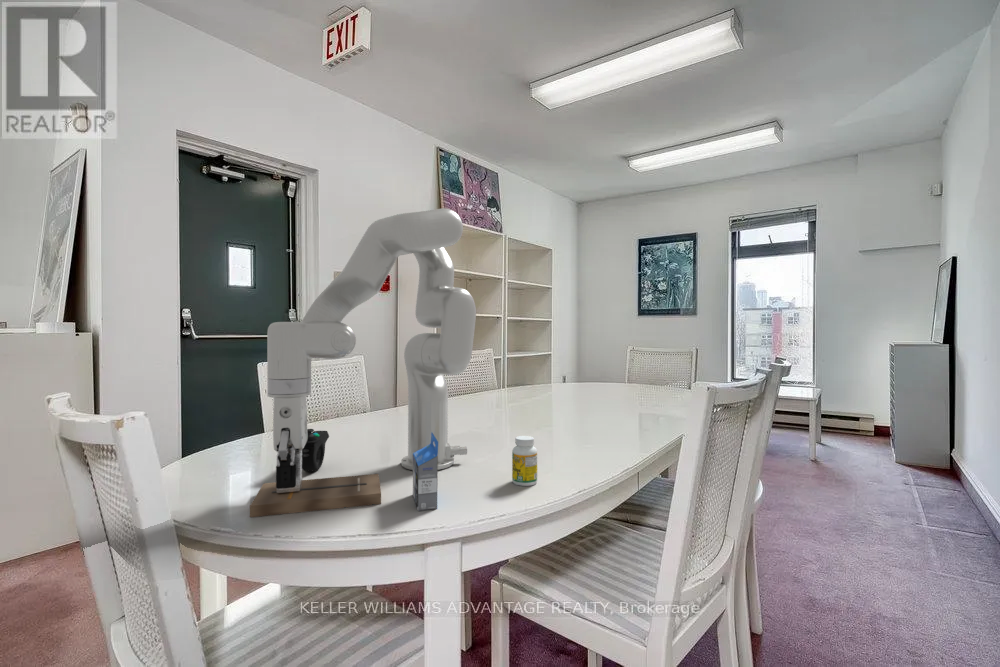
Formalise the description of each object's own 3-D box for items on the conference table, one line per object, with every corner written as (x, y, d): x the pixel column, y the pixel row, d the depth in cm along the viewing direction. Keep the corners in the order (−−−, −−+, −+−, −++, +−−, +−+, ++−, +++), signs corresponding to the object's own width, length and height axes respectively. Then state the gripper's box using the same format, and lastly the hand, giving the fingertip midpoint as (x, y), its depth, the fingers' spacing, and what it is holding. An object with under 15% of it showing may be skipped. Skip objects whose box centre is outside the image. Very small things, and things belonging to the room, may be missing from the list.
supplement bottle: (541, 484, 97) (542, 439, 97) (519, 488, 95) (519, 441, 95) (529, 477, 102) (529, 433, 102) (507, 480, 100) (508, 436, 100)
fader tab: (302, 485, 89) (302, 449, 89) (300, 491, 86) (300, 453, 86) (279, 487, 88) (279, 451, 88) (276, 493, 85) (276, 455, 85)
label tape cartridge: (411, 494, 91) (412, 432, 91) (431, 492, 92) (431, 431, 92) (417, 511, 83) (417, 443, 83) (438, 509, 84) (439, 441, 84)
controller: (294, 478, 101) (294, 432, 100) (312, 461, 113) (312, 421, 113) (314, 477, 101) (314, 432, 101) (330, 461, 113) (331, 421, 113)
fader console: (378, 483, 98) (378, 473, 98) (381, 503, 86) (381, 492, 86) (263, 493, 91) (263, 482, 91) (249, 517, 80) (249, 505, 80)
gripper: (306, 392, 80) (305, 494, 80) (315, 381, 96) (315, 465, 96) (257, 394, 77) (257, 498, 78) (275, 382, 94) (275, 468, 94)
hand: (289, 479), depth 87 cm, fingers open, 8 cm apart
